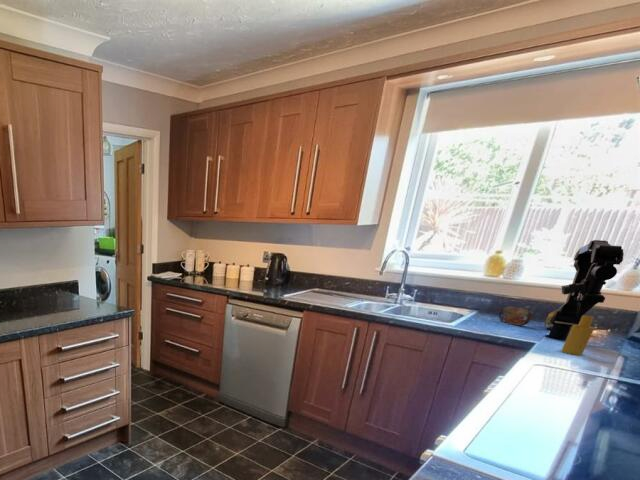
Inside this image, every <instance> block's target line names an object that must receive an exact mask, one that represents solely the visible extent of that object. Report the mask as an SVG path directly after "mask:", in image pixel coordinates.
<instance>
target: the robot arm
mask: <svg viewBox="0 0 640 480" xmlns="http://www.w3.org/2000/svg"><path fill="white" fill-rule="evenodd" d="M624 254H625V252H624V249H623V247H622V245H612V244H610V243H609V241H607V240H602V239H593V240H590V242H589V243H588V244H585V245H583V246H581V247H579V249H578V250H577V251H576V253H575V255H574V258H573V261H574V262H573V267H574V269H575V274H574V278H573V281H572V283H569V284H566V285H565V284H564V285H561V294H562V295H567V298H566V301H565V303H564V304H562V305H561V306H560V307H559V308H558V309H557V310H555V311H556V313H555V314H554V315H553V317H552V318H551V321H550V323H551V324H554V325H553V327H552V329H550V331H549V333H548V334H545V335H544V337H547V338H552V339H555V340H560V341H562V340H563V341H566V339H567V337H568V335H569V332H570V330H571V328H572V326H573V325H574V324H577V325H578V324H579V322H580V320H581V317H582V315H585V314H586V313H588V312H589V311H590V310H591V309H592V308H594V307H595V306H596V305H597V304H599V303H602V304H603V303H604V302H605V301H606V297H605V295H603V294H602V289H603V287H604V285H606V284H607V281H610V280H612V279H613V278H615V277H616V275H617V273H618V268H617V267H616V266H615V265H617V266H619V265H621V263H623V261H624V256H625V255H624ZM555 321H558V322H555ZM563 322H566V323H563ZM571 323H574V324H571Z"/></svg>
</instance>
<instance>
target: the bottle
mask: <svg viewBox="0 0 640 480" xmlns="http://www.w3.org/2000/svg"><path fill="white" fill-rule="evenodd" d="M594 318H595V317H594V316H593V315H585V314H584V315H582V317H581V320H580V322H579V324H578V325H577V324H574V325H573V326H572V328H571V330H570V332H569V334H568V337H567V339H566V340H564V343H563V345H562V348H561V352H562V353H565V354H569V355H575V356H582V355H583V354H584V352H585V349H586V347H587V345H588V343H589V341H590V339H591V336H592V334H593V333H594V330H595V327H594V326H592V322H593V320H594Z"/></svg>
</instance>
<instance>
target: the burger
mask: <svg viewBox="0 0 640 480" xmlns="http://www.w3.org/2000/svg"><path fill="white" fill-rule="evenodd" d="M556 311H557V310H554V311H551V312H549V313H548V316H547V317H546V318H545V321H544V328H546V329H548V330H551V329H552V327H553V325H554V324H551V323H550V321H551V318H552V317H553V315H554V314H555V313H556ZM555 322H558V321H555ZM563 323H566V322H563ZM571 324H574V323H571Z"/></svg>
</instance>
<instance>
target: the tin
mask: <svg viewBox="0 0 640 480" xmlns="http://www.w3.org/2000/svg"><path fill="white" fill-rule="evenodd" d="M532 317H533V314H532V312H531V310H529V309H527V308H526V309H525V308H520V307H516V306H511V305H508V306H505V307H503V308H502V309H500V311H499V314H498V318H499V321H501V322H503V323H505V324H511V325H514V326H526V325H527V324H529V323H530V321H531V319H532Z"/></svg>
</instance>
